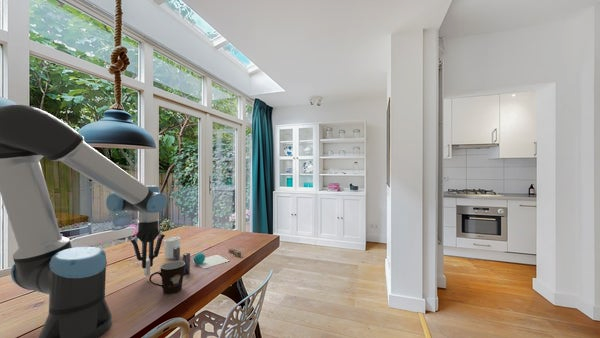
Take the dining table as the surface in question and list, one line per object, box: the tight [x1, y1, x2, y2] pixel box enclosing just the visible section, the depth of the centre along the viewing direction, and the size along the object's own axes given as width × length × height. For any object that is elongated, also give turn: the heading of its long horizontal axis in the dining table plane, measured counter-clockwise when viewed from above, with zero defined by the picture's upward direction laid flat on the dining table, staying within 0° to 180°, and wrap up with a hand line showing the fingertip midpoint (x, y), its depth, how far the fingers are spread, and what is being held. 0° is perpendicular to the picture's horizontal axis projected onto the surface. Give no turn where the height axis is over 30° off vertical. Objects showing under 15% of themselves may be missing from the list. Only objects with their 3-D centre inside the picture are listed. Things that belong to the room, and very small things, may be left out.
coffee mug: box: [148, 260, 185, 295], centre depth 90 cm, size 12×9×10 cm
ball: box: [193, 252, 206, 265], centre depth 118 cm, size 6×6×6 cm
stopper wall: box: [228, 248, 242, 258], centre depth 132 cm, size 10×2×2 cm, turn 47°
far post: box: [172, 246, 181, 261], centre depth 115 cm, size 3×3×9 cm
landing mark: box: [192, 254, 230, 270], centre depth 121 cm, size 14×14×1 cm
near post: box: [182, 252, 191, 276], centre depth 106 cm, size 3×3×9 cm
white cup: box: [163, 236, 181, 260], centre depth 128 cm, size 8×8×10 cm
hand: (147, 274), depth 100 cm, fingers closed
